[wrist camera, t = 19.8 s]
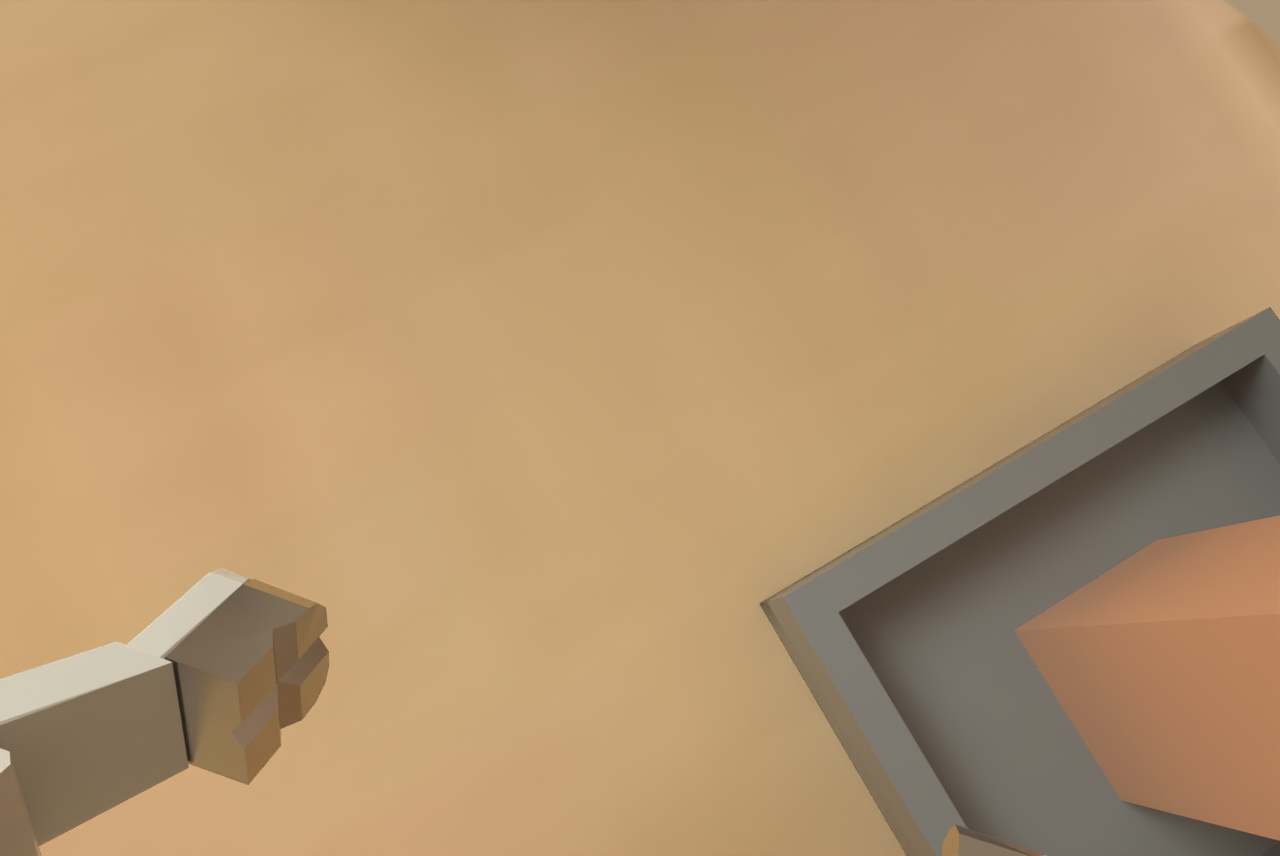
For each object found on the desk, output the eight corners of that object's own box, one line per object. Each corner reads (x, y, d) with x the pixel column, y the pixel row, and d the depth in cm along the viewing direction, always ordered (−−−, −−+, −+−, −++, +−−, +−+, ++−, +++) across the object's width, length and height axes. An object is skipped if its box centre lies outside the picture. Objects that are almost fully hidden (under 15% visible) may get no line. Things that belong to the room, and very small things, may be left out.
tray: (759, 603, 27) (783, 597, 24) (1201, 341, 30) (1270, 307, 27) (1022, 1054, 25) (1084, 1107, 22) (1471, 725, 28) (1577, 733, 25)
